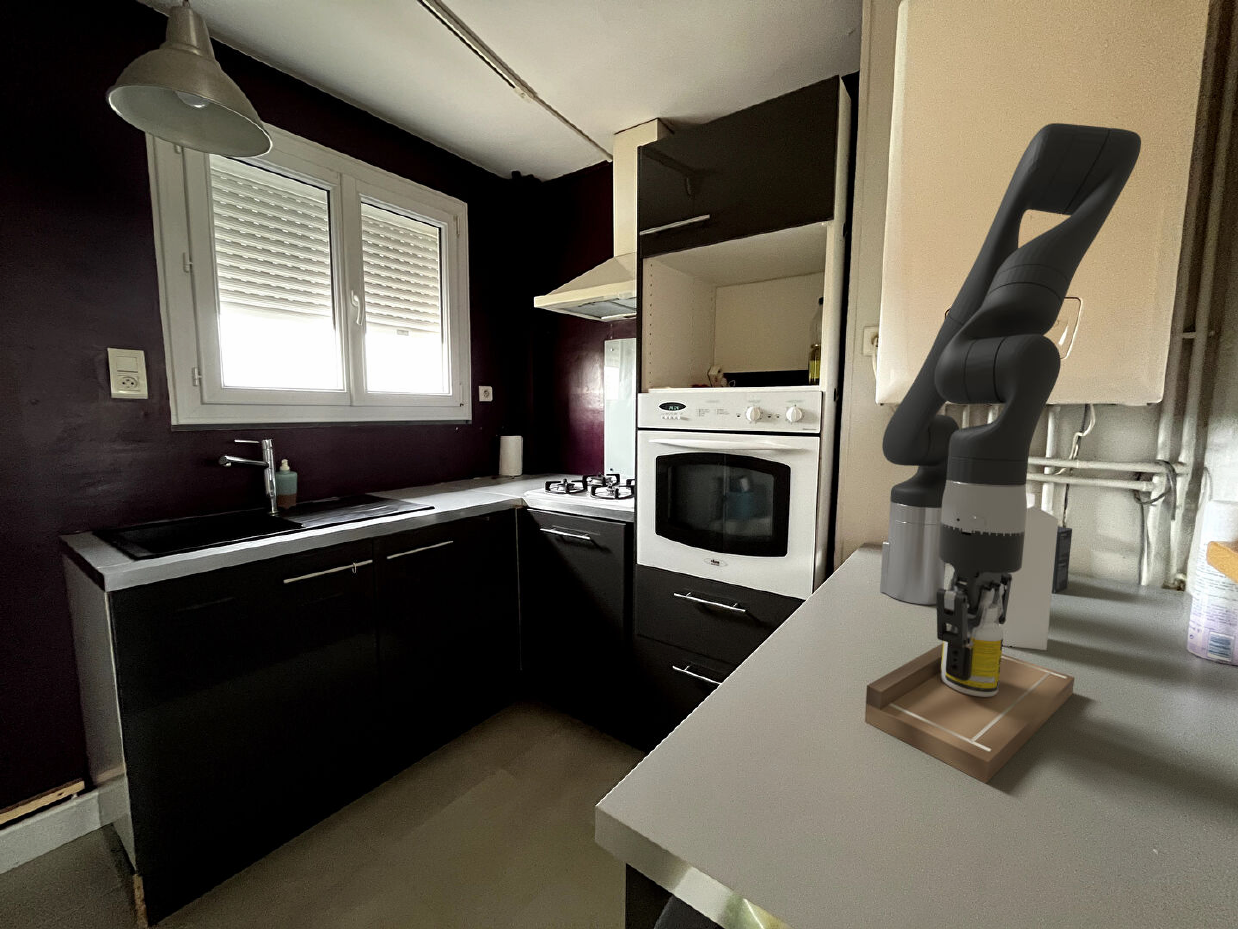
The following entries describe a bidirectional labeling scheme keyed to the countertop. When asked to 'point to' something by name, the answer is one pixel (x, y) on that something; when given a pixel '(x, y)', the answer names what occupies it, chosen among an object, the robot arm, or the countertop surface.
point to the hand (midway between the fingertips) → (969, 668)
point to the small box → (1061, 559)
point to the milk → (1032, 582)
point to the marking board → (965, 711)
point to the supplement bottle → (980, 659)
